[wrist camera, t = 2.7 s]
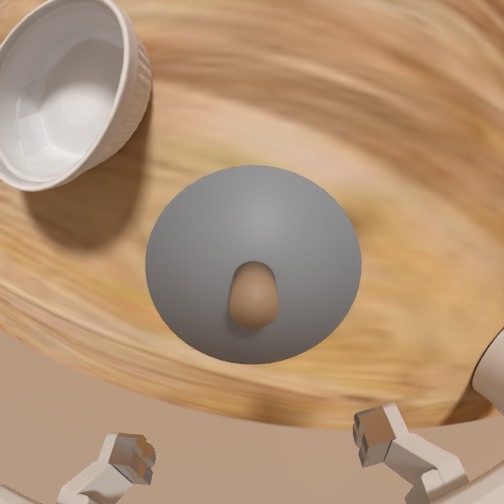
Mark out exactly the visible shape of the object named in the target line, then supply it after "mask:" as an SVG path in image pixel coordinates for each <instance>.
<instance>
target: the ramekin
mask: <svg viewBox="0 0 504 504" xmlns="http://www.w3.org/2000/svg"><path fill="white" fill-rule="evenodd" d="M151 71H152V68H151V65H150V59H149V56H148V54H147V50H146V48H145V46H144V45H143V43H142V41H141V39H140V38H139V36H138V35H137V33H136V32H135V29H134V27H133V24H132V22H131V20H130V19H129V17H128V15H127V14H126V13H125V11H124V10H123V9H122V8H121V7H120V6H119V5H117V4H116V3H115V2H113V1H112V0H49V1H47V2H45V3H43V4H42V5H40V6H39V7H37V8H36V9H34V10H33V11H32V12H30V13H29V14H28V15H27V16H25V17H24V18H23V19H22V20H21V21H20V22H19V23H18V24H17V25H16V26H15V27H14V29H13V30H12V31H11V32H10V33H9V35H8V36H7V37H6V39H5V40H4V41H3V43H2V44H1V46H0V179H1V180H2V181H3V182H4V183H6V184H7V185H9V186H11V187H13V188H15V189H18V190H21V191H27V192H37V191H44V190H48V189H52V188H56V187H59V186H61V185H64V184H66V183H68V182H70V181H72V180H73V179H75V178H77V177H78V176H79V175H81V174H82V173H83V172H85V171H87V170H89V169H91V168H93V167H95V166H96V165H98V164H100V163H102V162H104V161H105V160H107V159H108V158H109V157H110V156H112V155H114V154H115V153H117V151H118V150H119V149H121V148H122V147H123V146H124V145H125V143H126V142H127V141H128V140H129V139H130V138H131V136H132V134H133V132H134V131H135V130H136V129H137V127H138V125H139V123H140V121H141V120H142V118H143V115H144V113H145V111H146V109H147V104H148V102H149V100H150V92H151V89H152V75H151Z"/></svg>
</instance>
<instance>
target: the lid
mask: <svg viewBox="0 0 504 504" xmlns="http://www.w3.org/2000/svg"><path fill="white" fill-rule="evenodd" d="M145 271H146V279H147V285H148V288H149V292H150V296H151V298H152V300H153V303H154V305H155V307H156V309H157V311H158V312H159V314H160V316H161V317H162V319H163V320H164V321H165V323H166V324H167V325H168V326H169V328H170V329H171V330H172V331H173V332H174V333H175V334H176V335H177V336H178V337H180V338H181V339H182V340H183V341H185V342H186V343H187V344H189V345H190V346H192V347H194V348H195V349H197V350H199V351H201V352H203V353H205V354H207V355H209V356H212V357H215V358H218V359H221V360H225V361H229V362H235V363H243V364H262V363H271V362H276V361H281V360H285V359H288V358H291V357H294V356H297V355H299V354H301V353H303V352H305V351H307V350H309V349H311V348H313V347H314V346H316V345H317V344H319V343H320V342H321V341H323V340H324V339H325V338H327V337H328V336H329V335H330V334H331V333H332V332H333V331H334V330H335V329H336V328H337V327H338V325H339V324H340V323H341V322H342V321H343V319H344V318H345V316H346V315H347V313H348V311H349V310H350V308H351V306H352V304H353V302H354V300H355V297H356V294H357V291H358V288H359V283H360V277H361V252H360V246H359V242H358V238H357V235H356V232H355V230H354V228H353V225H352V223H351V221H350V220H349V218H348V216H347V215H346V213H345V211H344V210H343V209H342V207H341V206H340V205H339V204H338V203H337V201H336V200H335V199H334V198H333V197H332V196H330V195H329V194H328V193H327V192H326V191H325V190H324V189H322V188H321V187H319V186H318V185H316V184H315V183H313V182H312V181H310V180H309V179H307V178H304V177H302V176H300V175H298V174H296V173H293V172H290V171H287V170H284V169H281V168H275V167H269V166H253V165H248V166H239V167H232V168H228V169H224V170H220V171H217V172H214V173H212V174H209V175H207V176H205V177H203V178H201V179H199V180H197V181H196V182H194V183H192V184H191V185H189V186H188V187H186V188H185V189H184V190H183V191H182V192H180V193H179V194H178V195H177V196H176V197H175V198H174V199H173V200H172V201H171V202H170V203H169V204H168V205H167V206H166V208H165V209H164V211H163V212H162V214H161V215H160V216H159V218H158V220H157V222H156V224H155V226H154V228H153V230H152V232H151V235H150V239H149V242H148V246H147V252H146V267H145Z"/></svg>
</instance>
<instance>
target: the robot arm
mask: <svg viewBox="0 0 504 504" xmlns="http://www.w3.org/2000/svg"><path fill="white" fill-rule="evenodd" d="M472 386H473V389H474V390H475V391H477V392H478V393H480V394H481V395H482V396H484V397H485V398H486V399H487V400H488V401H489V402H490V403H492V404H493V405H494V406H495V408H496V409H497V410H498V411H499V412H500V413H501V414H502V415H503V416H504V329H503V330H502V332H501V333H500V334H499V335H498V336H497V337H496V339H495V340H494V341H493V343H492V344H491V345H490V347H489V348H488V350H487V351H486V353H485V354H484V356H483V357H482V359H481V361H480V363H479V365H478V367H477V369H476V371H475V374H474V377H473V381H472ZM354 420H355V423H354V424H353V436H354V440H355V444H356V446H358V447H359V448H360V450H359V457H360V461H361V464H362V467H363V468H364V467H367V466H371V465H375V464H378V463H381V462H384V463H385V464H386V465H387V466H388V467H390V468H391V469H392V470H394V471H395V472H396V473H398V474H399V475H400V476H402V477H403V478H404V479H406V480H407V481H408V482H410V483H411V484H412V485H414V487H413V488H412V489H411V491H410V492H409V493H408V494H407V496H406V497H405V501H406V504H504V460H503V461H502V462H500V463H499V464H498V465H496V466H495V467H493V468H492V469H490V470H489V471H487V472H485V473H484V474H482V475H481V476H479V477H477V478H476V479H474V480H472V481H471V482H469V480H468V478H467V476H466V473H465V471H464V469H463V467H462V465H461V463H460V461H459V459H458V457H457V456H455V455H453V454H451V453H449V452H447V451H445V450H444V449H442V448H440V447H438V446H436V445H434V444H432V443H430V442H429V441H427V440H425V439H423V438H421V437H420V436H418V435H416V434H414V433H411V434H409V432H408V429H407V427H406V425H405V423H404V421H403V419H402V417H401V415H400V413H399V410H398V408H397V406H396V404H395V403H393V402H391V403H388V404H385V405H382V406H378V407H375V408H371V409H368V410H365V411H361V412H358V413H355V415H354ZM155 459H156V457H155V451H154V448H153V447H152V445H150V444H149V443H147V442H146V438H145V437H144V436H143V435H137V434H124V433H115V432H109V433H108V434H107V436H106V439H105V442H104V444H103V447H102V450H101V453H100V456H99V459H98V461H94V462H93V463H92V464H91V465H89V466H88V467H87V468H86V469H84V470H83V471H82V472H81V473H79V474H78V475H77V476H76V477H74V478H73V479H72V480H71V481H69V482H68V483H67V484H65V485H64V486H63V487H62V489H61V491H60V494H59V497H58V500H57V503H56V504H116V502H117V501H118V500H119V499H120V498H121V497H122V496H123V495H124V494H125V492H126V491H127V490H128V489H129V488H130V487H131V486H132V485H133V484H132V483H134V484H143V485H150V484H151V478H152V474H153V472H152V470H151V469H150V468H151V467H152V466H153V465H154V464H155ZM0 504H41V503H39V502H36V501H34V500H33V499H30V498H29V497H26V496H25V495H23V494H21V493H19V492H17V491H15V490H13V489H11V488H9V487H8V486H5V485H0Z"/></svg>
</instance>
